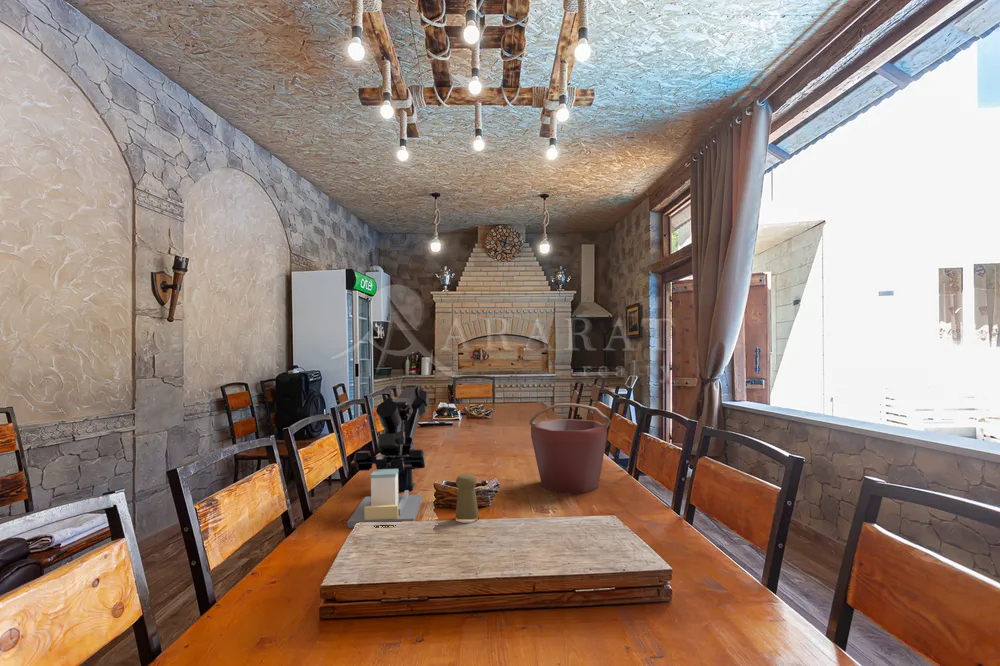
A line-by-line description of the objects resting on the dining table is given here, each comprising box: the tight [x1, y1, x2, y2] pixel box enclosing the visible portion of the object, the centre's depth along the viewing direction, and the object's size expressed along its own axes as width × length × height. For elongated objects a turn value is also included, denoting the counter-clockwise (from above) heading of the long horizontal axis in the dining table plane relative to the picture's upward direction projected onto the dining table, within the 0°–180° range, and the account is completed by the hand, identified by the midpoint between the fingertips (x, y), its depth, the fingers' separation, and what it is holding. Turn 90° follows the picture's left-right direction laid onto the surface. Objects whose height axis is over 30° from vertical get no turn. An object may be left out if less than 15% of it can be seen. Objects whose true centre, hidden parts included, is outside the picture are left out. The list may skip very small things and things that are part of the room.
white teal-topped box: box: [369, 469, 399, 506], centre depth 124 cm, size 5×6×10 cm
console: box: [347, 490, 423, 529], centre depth 128 cm, size 20×16×4 cm
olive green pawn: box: [454, 473, 480, 519], centre depth 122 cm, size 6×6×11 cm
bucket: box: [528, 403, 612, 494], centre depth 148 cm, size 24×22×25 cm
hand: (386, 488), depth 127 cm, fingers closed, pressing on white teal-topped box
